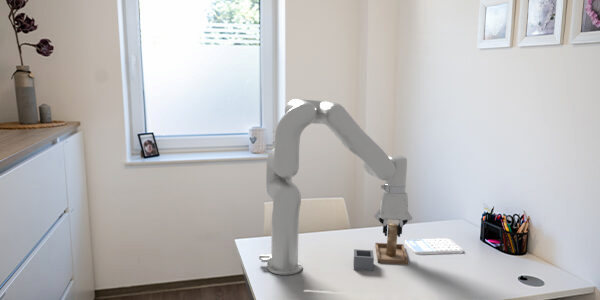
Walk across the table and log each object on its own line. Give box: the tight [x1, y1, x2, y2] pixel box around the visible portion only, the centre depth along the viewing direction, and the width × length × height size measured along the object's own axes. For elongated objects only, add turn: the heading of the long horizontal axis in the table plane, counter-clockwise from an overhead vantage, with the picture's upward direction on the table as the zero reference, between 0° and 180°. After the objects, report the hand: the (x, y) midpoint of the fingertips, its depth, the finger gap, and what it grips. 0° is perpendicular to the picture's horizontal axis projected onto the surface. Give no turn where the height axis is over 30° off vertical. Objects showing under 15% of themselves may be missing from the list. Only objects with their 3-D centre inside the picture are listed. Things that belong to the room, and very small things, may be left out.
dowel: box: [386, 223, 398, 257], centre depth 176 cm, size 4×4×12 cm
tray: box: [374, 242, 409, 266], centre depth 177 cm, size 16×11×2 cm
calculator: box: [404, 237, 464, 255], centre depth 188 cm, size 13×20×2 cm, turn 98°
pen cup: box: [353, 248, 375, 272], centre depth 166 cm, size 7×7×6 cm
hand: (392, 234), depth 176 cm, fingers open, 4 cm apart
